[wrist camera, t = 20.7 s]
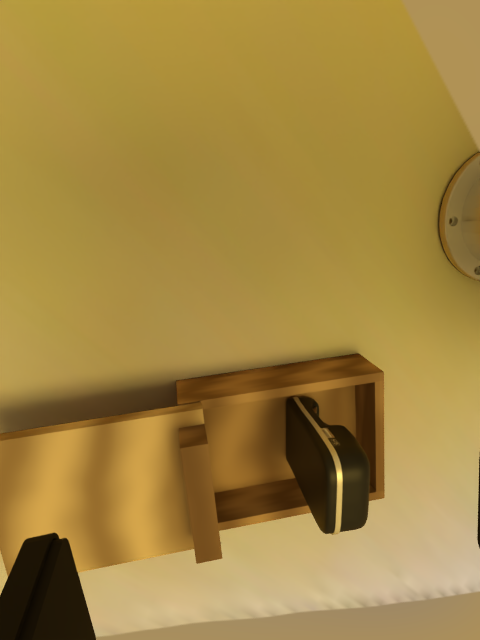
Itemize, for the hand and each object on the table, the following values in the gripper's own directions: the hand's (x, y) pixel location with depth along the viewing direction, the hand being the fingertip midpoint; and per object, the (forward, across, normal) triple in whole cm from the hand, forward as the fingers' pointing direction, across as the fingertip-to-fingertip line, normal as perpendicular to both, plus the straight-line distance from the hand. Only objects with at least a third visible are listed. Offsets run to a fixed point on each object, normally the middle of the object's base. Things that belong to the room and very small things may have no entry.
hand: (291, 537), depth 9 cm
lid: (+24, +10, +14) cm, 30 cm away
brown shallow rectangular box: (+30, -6, +14) cm, 33 cm away
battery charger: (+29, -8, +14) cm, 33 cm away
